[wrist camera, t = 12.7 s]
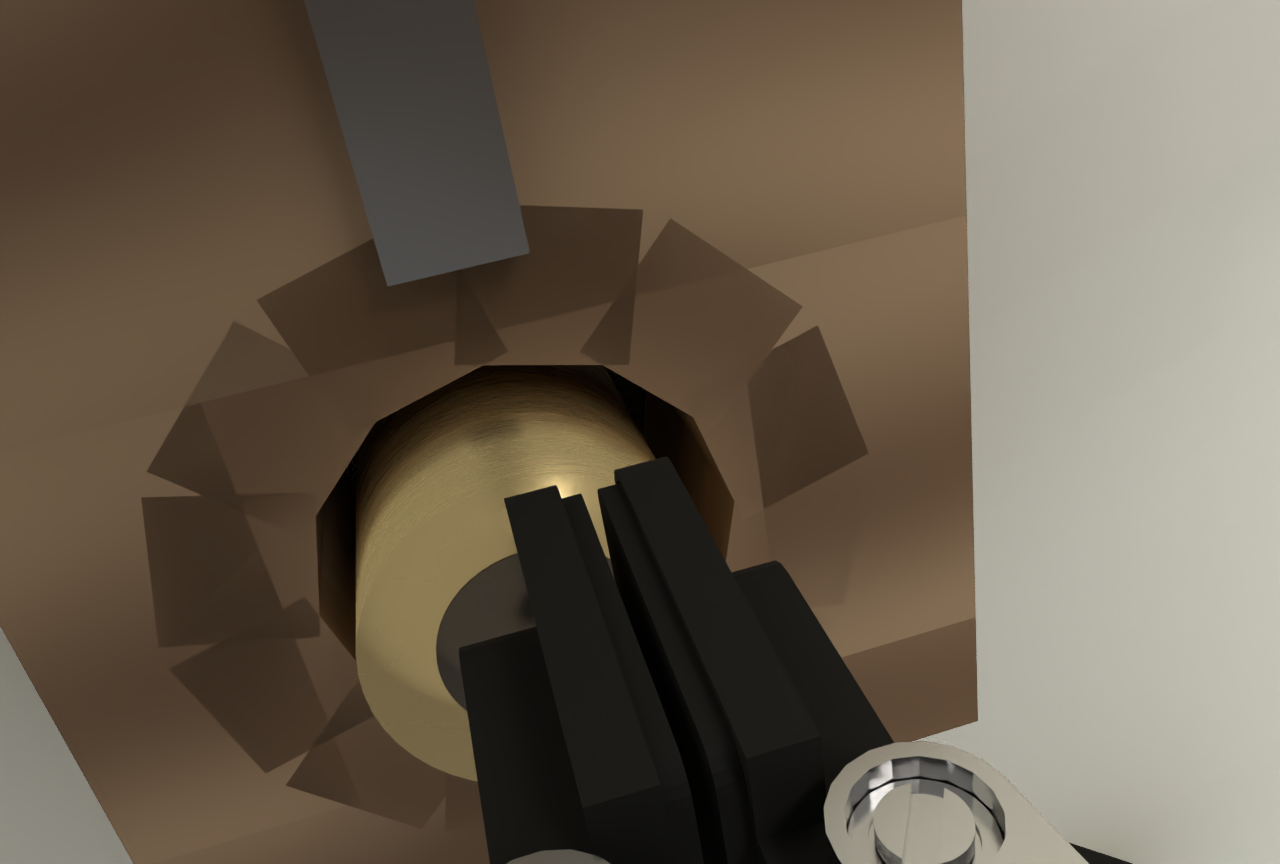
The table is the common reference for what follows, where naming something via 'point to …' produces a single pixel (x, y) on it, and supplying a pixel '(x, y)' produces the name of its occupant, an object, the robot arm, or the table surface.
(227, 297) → the jig
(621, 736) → the robot arm
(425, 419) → the cylinder
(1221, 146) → the table surface
